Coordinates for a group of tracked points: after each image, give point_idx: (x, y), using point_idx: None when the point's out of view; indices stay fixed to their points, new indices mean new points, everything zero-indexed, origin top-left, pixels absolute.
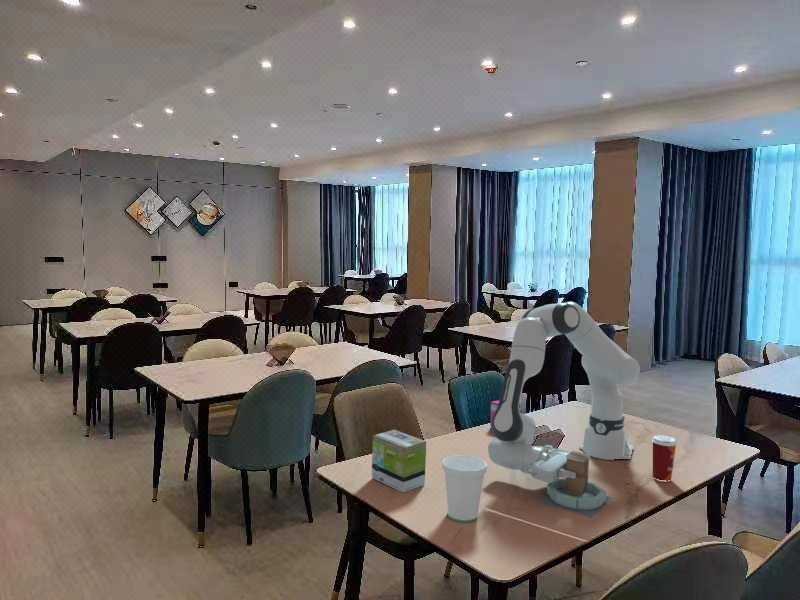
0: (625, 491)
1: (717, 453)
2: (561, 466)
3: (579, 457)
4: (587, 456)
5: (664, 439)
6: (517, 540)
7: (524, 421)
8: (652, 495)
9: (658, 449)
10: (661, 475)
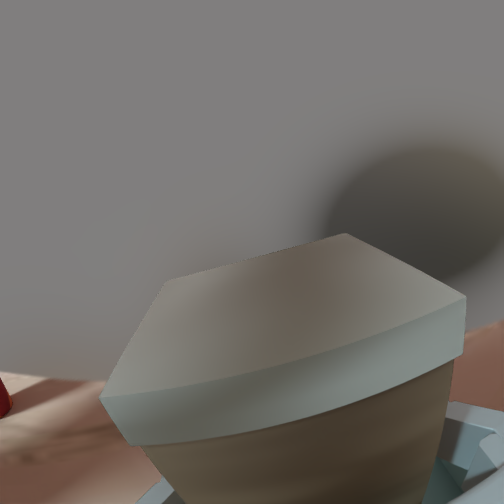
0: (86, 453)
1: None
2: (486, 478)
3: (341, 250)
4: (236, 262)
5: None
6: None
7: None
8: (90, 403)
9: None
10: (2, 393)
